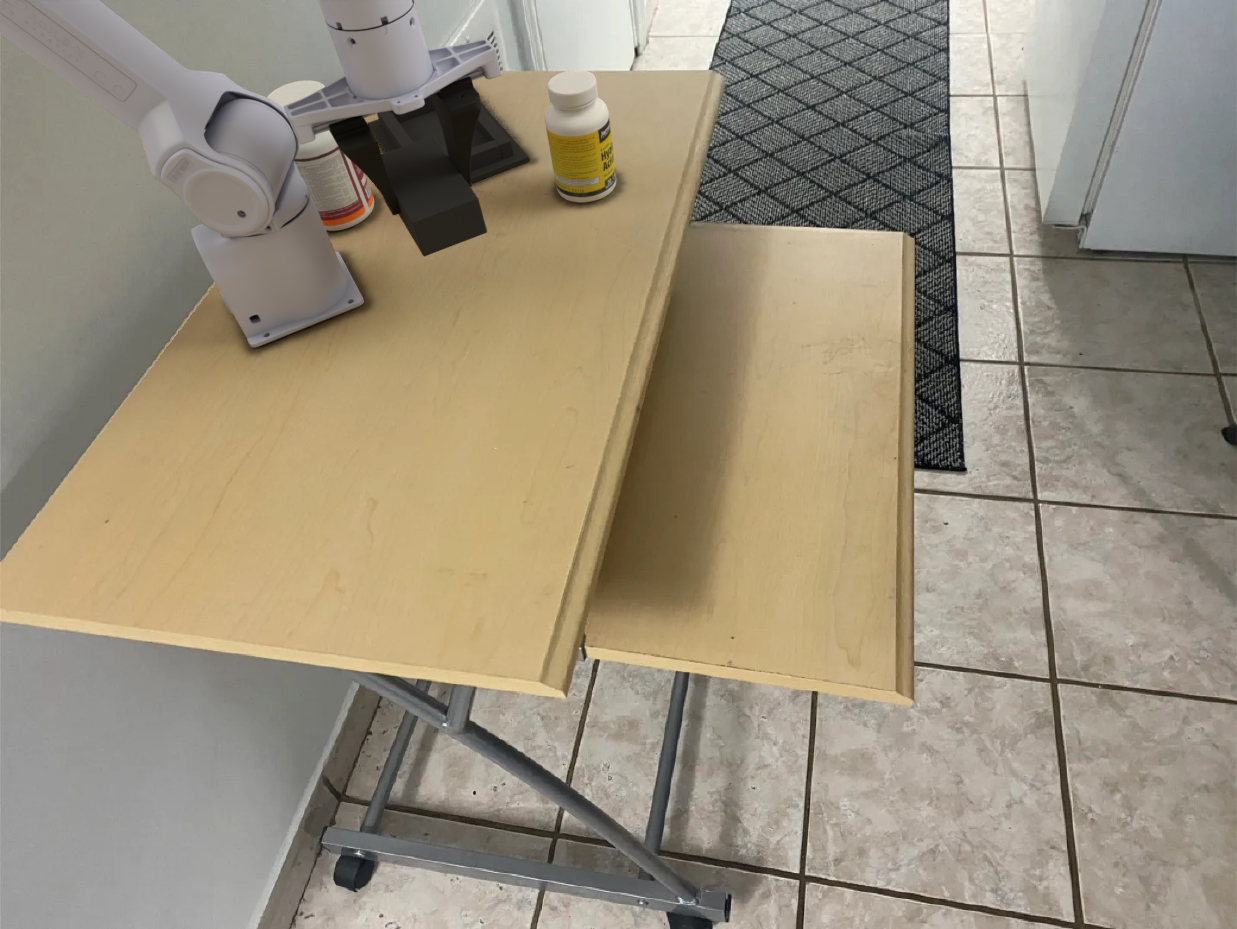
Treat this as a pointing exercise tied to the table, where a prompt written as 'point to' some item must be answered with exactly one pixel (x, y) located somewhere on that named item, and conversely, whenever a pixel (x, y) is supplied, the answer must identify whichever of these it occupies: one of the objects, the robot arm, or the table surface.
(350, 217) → the pill bottle
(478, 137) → the base pad
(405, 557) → the table surface
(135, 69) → the robot arm
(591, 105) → the supplement bottle
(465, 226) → the charcoal block
